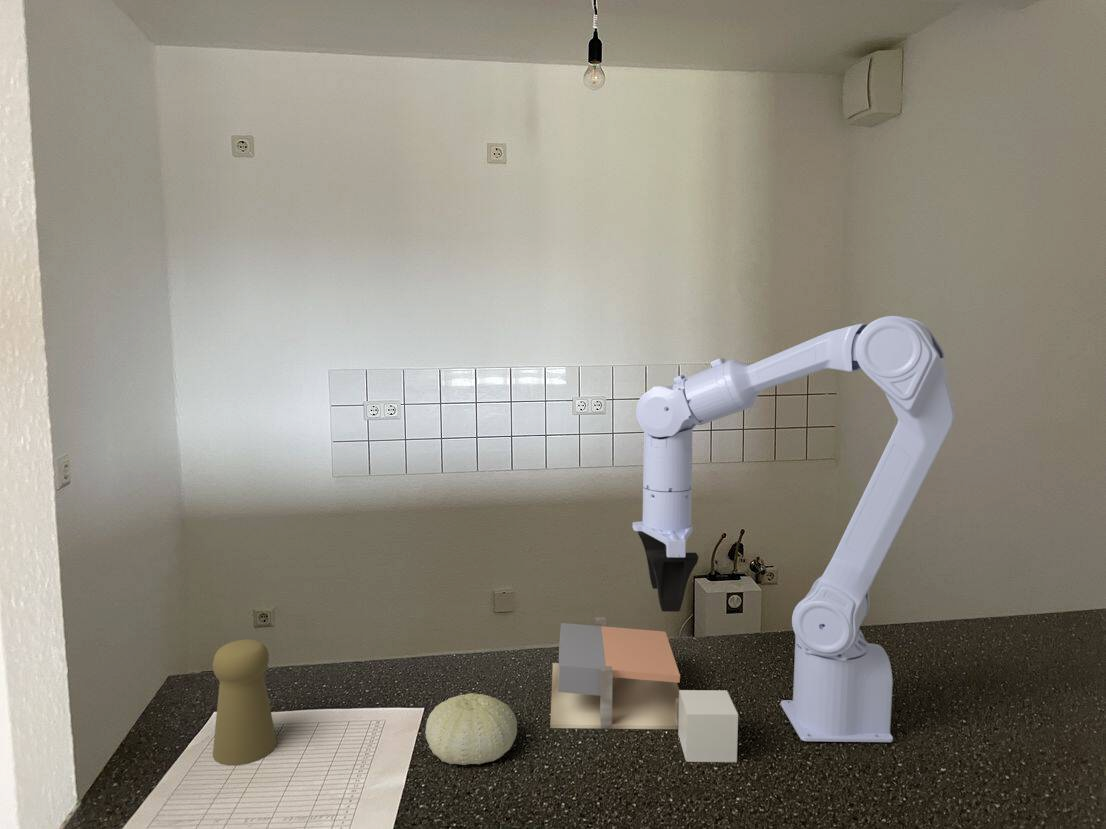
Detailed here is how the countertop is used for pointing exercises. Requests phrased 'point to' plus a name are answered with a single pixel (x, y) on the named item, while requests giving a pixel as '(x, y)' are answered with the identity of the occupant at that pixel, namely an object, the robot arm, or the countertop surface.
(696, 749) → the off-white sharp-edged cube
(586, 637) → the trapdoor
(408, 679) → the countertop surface
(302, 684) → the countertop surface
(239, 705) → the cork
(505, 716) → the sea urchin shell
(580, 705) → the frame
